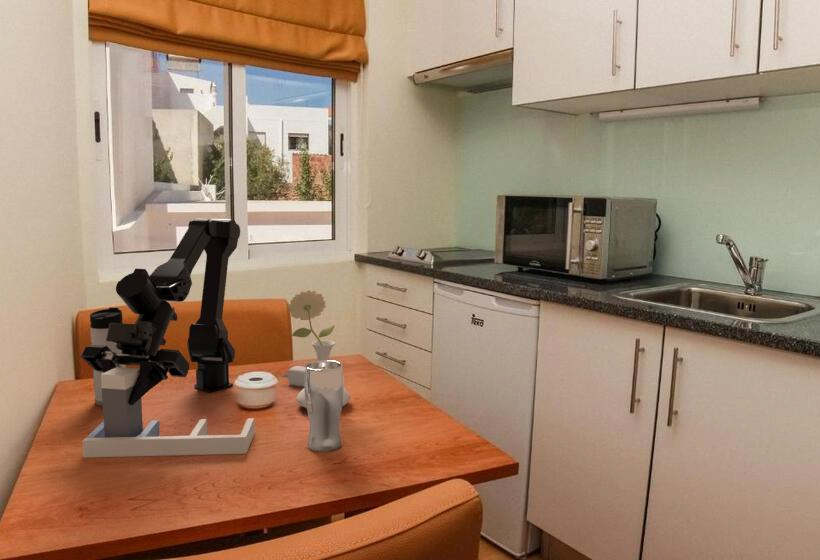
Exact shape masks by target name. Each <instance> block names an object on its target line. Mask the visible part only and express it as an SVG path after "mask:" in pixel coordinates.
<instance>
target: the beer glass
mask: <svg viewBox="0 0 820 560" xmlns="http://www.w3.org/2000/svg"><path fill="white" fill-rule="evenodd" d="M304 367H306V369H305V386H304V387H303V389H305V401H306V407H307V408H306V411H307V416H308V421H309V433H308V441H307V447H308V448H309V450H311V451H313V452H318V453H328V452H333V451H336V450H338V449H339V448H341V446H342V444H343V442H342V438H341V431H340V420H341V414H342V408H343V406H342V403H343V395H344V389H345V380H344V371H343V363H342V362H340V361H337V360H332V359H331V360H330V359H329V360H319V361H318V360H314V361H310V362H308V363H306V364H305V366H304Z"/></svg>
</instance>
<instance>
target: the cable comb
mask: <svg viewBox="0 0 820 560" xmlns="http://www.w3.org/2000/svg"><path fill="white" fill-rule="evenodd" d="M255 433H256V432H255V418H254V417H252V418H251V417H249V418H246V421H245V423H244V425H243V427H242V430H241V433H240V434H215V435H214V434H211V435H209V434H208V419H207V418H202V419H199V420H198V422H197V423H196V425H195V427H194V428H193V430H192V431H191V433H190V434H189V435H173V436H172V435H171V436H170V435H166V436H164V435H163V436H160V420H159V419H152V420H151V421H150V422H149V423H148V424H147V425H146V427H144V428H143V431H142V433H141V434H140V435H138V436H137V437H112V438H105V434H104V420H103V421H102V422H101V423H99V424H98V426H96V427H95V428H94V429H93V430H92V431H91V432H90V433H89V434H88V435H87V436H86V437H85V438H83V440H82V452H83V453H82V455H83V458H85V459H86V458H121V457H122V458H123V457H125V458H126V457H159V456H161V457H162V456H166V457H167V456H168V457H169V456H200V455H201V456H202V455H236V454H237V455H238V454H239V455H241V454H242V455H244V454H247V453H248V450H249V448H250V445H251V443H252V440H253V438H254V436H255Z"/></svg>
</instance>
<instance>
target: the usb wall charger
mask: <svg viewBox="0 0 820 560" xmlns="http://www.w3.org/2000/svg"><path fill="white" fill-rule="evenodd" d="M305 369H306V367H305V366H301V365H295V366H293V367H290V368H289V369H288V371H285V373H281V377H282V378H286V379H288V385H289V386H293V387H302V388H304V386H305Z"/></svg>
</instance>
